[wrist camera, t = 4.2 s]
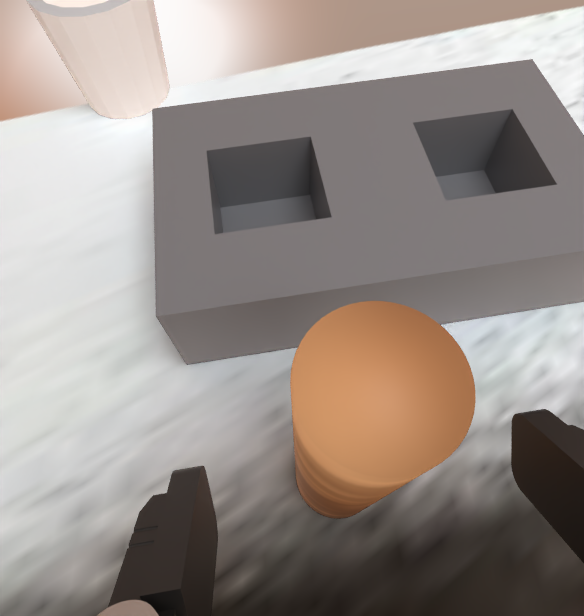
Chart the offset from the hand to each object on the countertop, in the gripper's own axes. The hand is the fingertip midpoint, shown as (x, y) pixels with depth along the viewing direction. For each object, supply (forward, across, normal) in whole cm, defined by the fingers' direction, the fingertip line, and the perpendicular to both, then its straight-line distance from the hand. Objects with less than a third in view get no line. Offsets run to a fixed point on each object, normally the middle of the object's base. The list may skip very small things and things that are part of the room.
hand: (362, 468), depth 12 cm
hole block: (+15, -4, -4) cm, 16 cm away
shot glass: (+26, +9, -14) cm, 31 cm away
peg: (+6, 0, +5) cm, 8 cm away
